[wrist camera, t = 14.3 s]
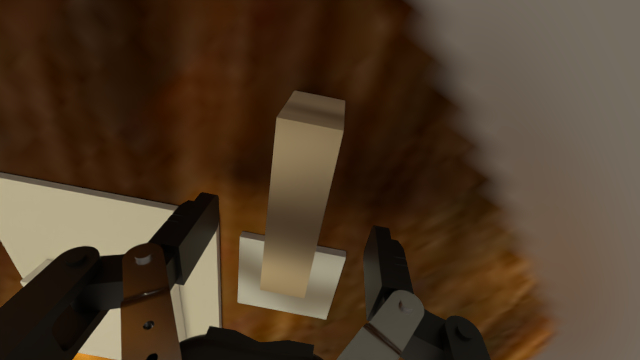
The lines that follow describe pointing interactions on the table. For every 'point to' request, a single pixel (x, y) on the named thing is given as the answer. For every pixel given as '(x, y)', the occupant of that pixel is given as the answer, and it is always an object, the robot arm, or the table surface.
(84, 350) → the tile
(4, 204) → the mat
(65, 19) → the table surface
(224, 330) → the robot arm
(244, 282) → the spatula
